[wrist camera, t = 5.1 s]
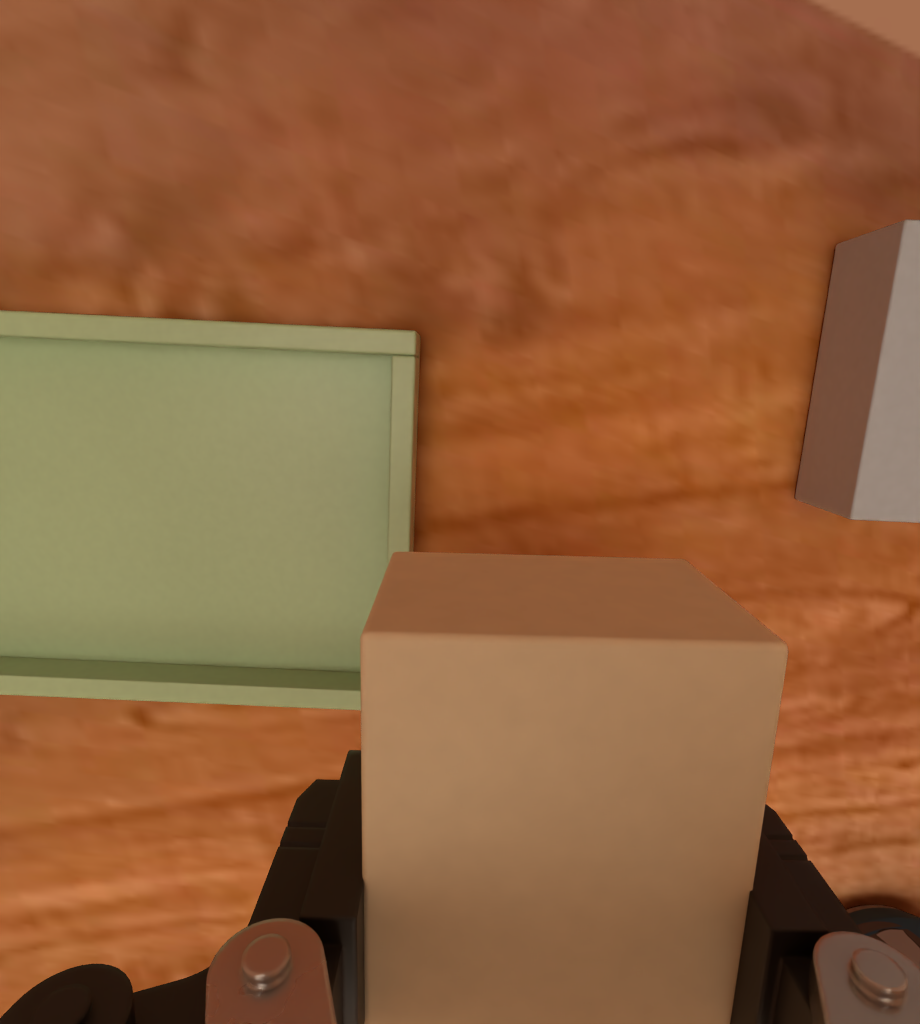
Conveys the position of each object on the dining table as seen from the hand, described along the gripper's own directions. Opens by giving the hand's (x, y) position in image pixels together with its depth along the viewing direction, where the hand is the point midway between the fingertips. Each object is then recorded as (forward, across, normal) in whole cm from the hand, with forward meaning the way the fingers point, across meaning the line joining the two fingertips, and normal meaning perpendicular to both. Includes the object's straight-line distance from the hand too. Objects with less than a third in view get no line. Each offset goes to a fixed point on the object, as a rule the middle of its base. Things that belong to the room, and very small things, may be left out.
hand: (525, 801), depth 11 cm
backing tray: (+13, +12, -2) cm, 18 cm away
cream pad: (0, 0, 0) cm, 0 cm away
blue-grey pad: (+13, -14, -8) cm, 21 cm away
